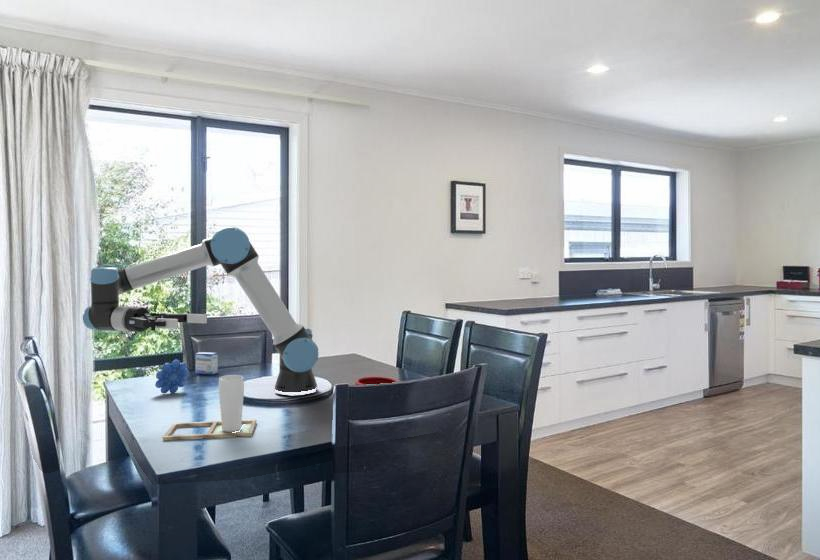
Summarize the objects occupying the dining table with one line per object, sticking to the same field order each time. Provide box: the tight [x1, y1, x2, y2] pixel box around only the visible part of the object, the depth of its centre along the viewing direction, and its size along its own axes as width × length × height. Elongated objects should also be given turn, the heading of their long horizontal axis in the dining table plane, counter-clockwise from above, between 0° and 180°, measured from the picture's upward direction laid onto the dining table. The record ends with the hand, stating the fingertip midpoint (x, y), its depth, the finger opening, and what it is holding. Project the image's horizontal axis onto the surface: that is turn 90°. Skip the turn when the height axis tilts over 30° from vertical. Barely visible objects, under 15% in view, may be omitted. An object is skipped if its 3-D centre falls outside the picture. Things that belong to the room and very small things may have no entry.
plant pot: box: [354, 376, 399, 386], centre depth 172 cm, size 13×13×12 cm
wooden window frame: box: [162, 418, 258, 441], centre depth 160 cm, size 23×13×1 cm, turn 100°
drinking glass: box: [218, 374, 245, 432], centre depth 160 cm, size 7×7×15 cm
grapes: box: [154, 359, 190, 394], centre depth 205 cm, size 12×7×12 cm, turn 126°
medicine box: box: [195, 351, 219, 375], centre depth 240 cm, size 8×4×9 cm, turn 80°
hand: (192, 321), depth 168 cm, fingers open, 13 cm apart
